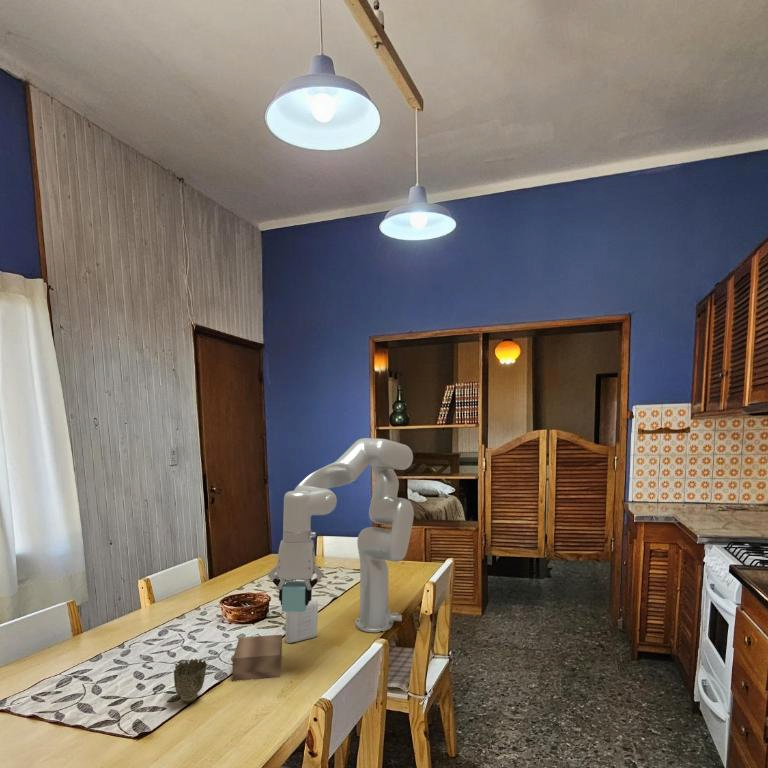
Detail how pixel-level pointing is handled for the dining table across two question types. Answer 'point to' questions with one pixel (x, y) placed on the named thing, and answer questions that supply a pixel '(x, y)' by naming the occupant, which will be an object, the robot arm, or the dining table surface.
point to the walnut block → (257, 657)
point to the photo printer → (302, 623)
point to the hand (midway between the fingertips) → (295, 602)
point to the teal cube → (294, 596)
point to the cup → (189, 679)
